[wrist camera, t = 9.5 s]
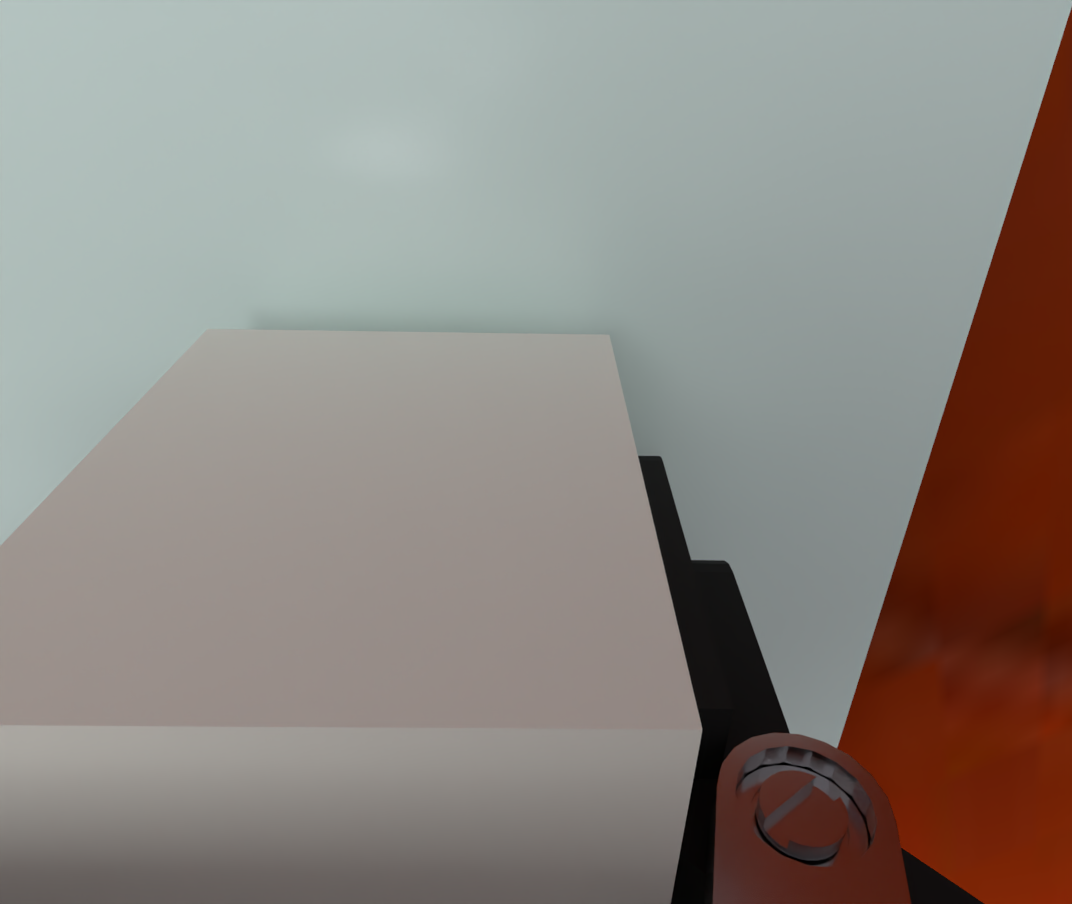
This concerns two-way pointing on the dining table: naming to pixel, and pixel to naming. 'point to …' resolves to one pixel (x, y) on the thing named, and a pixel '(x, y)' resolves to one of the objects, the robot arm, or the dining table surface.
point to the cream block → (349, 637)
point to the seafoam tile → (543, 235)
